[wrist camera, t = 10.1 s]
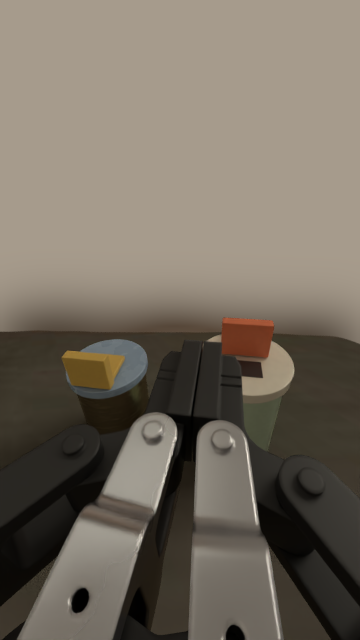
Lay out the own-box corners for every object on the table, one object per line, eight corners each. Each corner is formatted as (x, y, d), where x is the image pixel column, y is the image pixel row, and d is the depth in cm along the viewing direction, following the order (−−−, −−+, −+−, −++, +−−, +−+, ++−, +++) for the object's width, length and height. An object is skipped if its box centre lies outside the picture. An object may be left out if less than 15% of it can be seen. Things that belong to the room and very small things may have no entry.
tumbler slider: (127, 359, 27) (122, 332, 25) (110, 390, 24) (103, 361, 22) (92, 356, 28) (85, 329, 26) (71, 385, 24) (61, 357, 22)
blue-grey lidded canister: (161, 404, 36) (155, 341, 30) (144, 463, 29) (131, 396, 23) (105, 397, 37) (89, 336, 31) (76, 452, 30) (48, 387, 24)
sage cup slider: (263, 330, 27) (268, 301, 26) (268, 357, 24) (274, 326, 22) (222, 327, 28) (223, 299, 26) (220, 353, 24) (222, 322, 22)
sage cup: (266, 415, 34) (285, 334, 27) (276, 487, 26) (305, 401, 19) (200, 407, 35) (201, 329, 28) (191, 473, 28) (191, 388, 21)
